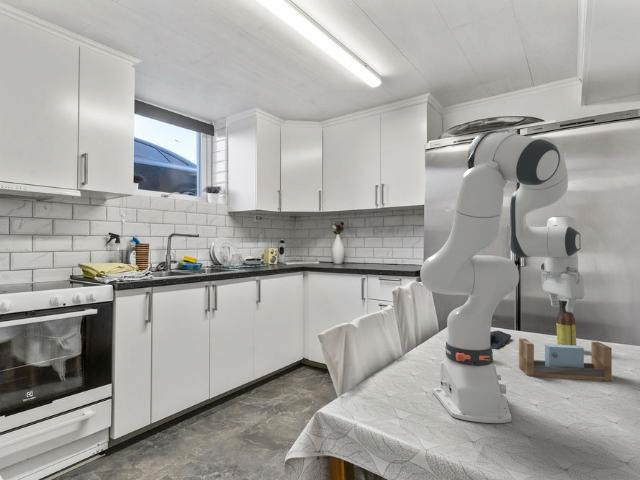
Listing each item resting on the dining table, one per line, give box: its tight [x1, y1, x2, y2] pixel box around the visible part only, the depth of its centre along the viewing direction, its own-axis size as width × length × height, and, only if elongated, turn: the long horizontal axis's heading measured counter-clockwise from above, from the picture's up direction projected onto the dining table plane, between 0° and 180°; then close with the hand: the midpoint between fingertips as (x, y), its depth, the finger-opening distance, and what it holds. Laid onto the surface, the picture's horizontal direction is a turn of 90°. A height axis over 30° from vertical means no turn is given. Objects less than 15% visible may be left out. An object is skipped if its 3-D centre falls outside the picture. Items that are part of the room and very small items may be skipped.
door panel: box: [544, 343, 585, 368], centre depth 116 cm, size 4×10×8 cm, turn 80°
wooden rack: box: [518, 337, 613, 382], centre depth 116 cm, size 8×24×10 cm, turn 80°
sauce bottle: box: [556, 298, 577, 346], centre depth 142 cm, size 7×6×20 cm
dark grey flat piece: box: [490, 330, 512, 350], centre depth 155 cm, size 15×22×5 cm
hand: (561, 309), depth 117 cm, fingers open, 8 cm apart
